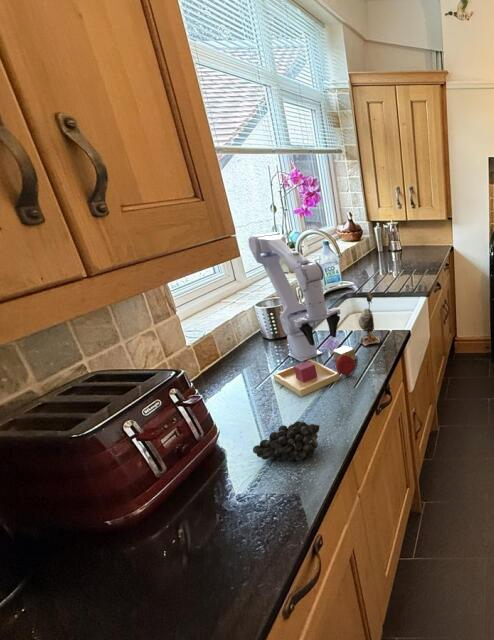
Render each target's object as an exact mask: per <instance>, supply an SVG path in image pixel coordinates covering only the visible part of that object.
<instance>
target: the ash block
mask: <svg viewBox="0 0 494 640" xmlns="http://www.w3.org/2000/svg"><path fill="white" fill-rule="evenodd" d="M332 352H333V358H334V361H335V362H337V360H338V359H339V358H340V357H341V356H342V353H344V354H345V355H348V356H350V357H351V358H352V359H353V360H354V361H355V360H357V358H356V352H355V348H353V347H351V346H348V345H343V346H340V347H337V348H335V349H333V350H332Z"/></svg>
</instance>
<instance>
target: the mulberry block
mask: <svg viewBox="0 0 494 640" xmlns="http://www.w3.org/2000/svg"><path fill="white" fill-rule="evenodd" d="M293 366H294V370H295V374H296V378H297V379H298V380H300V381H301V382H303V383H305V382H307V381H309V380H312V379H314V378H316V377H317V373H316V368H315V364H313V363H311V362H309V361H308V360H305V361H302V362H300V363H298V364H296V365H293Z"/></svg>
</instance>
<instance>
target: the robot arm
mask: <svg viewBox="0 0 494 640" xmlns="http://www.w3.org/2000/svg"><path fill="white" fill-rule="evenodd" d="M286 240H287V239H286V238H285V236H284V234H282V233H281V232H280V231H276V232H271V233H264V234H255V235H253V234H251V235H249V237H248V247H249V250H250V252H251V254H252V256H253V258H254V259H255V261H256V263H257V264H260V265H262V266H263V268H264V270H265V272H266V274H267V276H268V279H269V280H270V282H271V284H272V286H273V288H274V290H275V291H276V292H275V293H276V295H277V296H278V299H279V301H280V303H281V304H282V307H283V310H282V311H281V313H280V315H279V321H280V324H281V327H282V330H283V332H284V334H286V335H287V336H286V341H287V344H288V348H289V353H288V354H287V355H288V356H289V357H291V358H293V359H295V360H297V361H299V362H300V363H303V362H305V361H308V360H310V359H312V358H315V357H318V356H320V355H322V354H323V352H322V351H320V350H318V348H317V344H316V341H315V337H314V336H315V334H314V331H315V328H316V326H317V323H318V321H322V320H326V322H327V326H328V330H329V334H330V335H329V336H330V337H331V338H336V337H337V329H338V325H339V323H340V321H341V316H340V315H341V309H340V307H333V308H329V309H328V308H327V304H326V299H325V294H324V289H323V284H322V280H324V278H325V273H324V270H323V267H322V265H321V264H320V263H319V262H318V261H310V260H309V259H308V258H306V257H305V256H304V255H303V254H302V253H301V252H299V251H297V250H296V251H293V250H292V249H291V247H290V246H288V244H287V241H286ZM282 259H283V261H284V265H285V266H286V268H288V269H290V271H291V272H293V273H294V274H295V278H296V280H297V281H298V285H299V288H300V289H301V290H302V295H303V298H304V304H303V303H300V302H299V300H298V298H297V296H296V294H295V292H294V290H293V287H292V286H291V284H290V281H289V279H288V277H287V275H286V273H285V272H284V270H283V268H282V265H281V264H280V262H281V260H282Z"/></svg>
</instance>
